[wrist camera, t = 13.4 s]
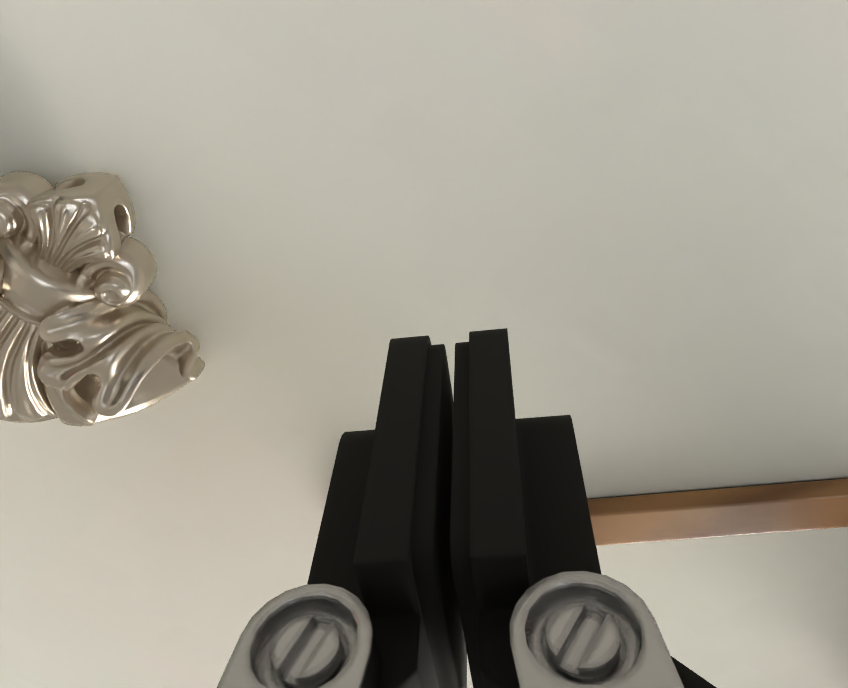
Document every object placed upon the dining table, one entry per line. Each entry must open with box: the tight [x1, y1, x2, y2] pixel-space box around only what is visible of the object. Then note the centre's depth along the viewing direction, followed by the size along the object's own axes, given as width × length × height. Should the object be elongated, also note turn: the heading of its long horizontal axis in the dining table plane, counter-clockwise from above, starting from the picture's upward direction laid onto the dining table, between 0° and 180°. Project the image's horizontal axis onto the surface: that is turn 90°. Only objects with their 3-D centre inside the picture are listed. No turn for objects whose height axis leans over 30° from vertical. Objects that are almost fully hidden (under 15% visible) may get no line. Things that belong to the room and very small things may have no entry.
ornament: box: [0, 171, 205, 426], centre depth 16 cm, size 8×7×4 cm
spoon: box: [587, 478, 848, 546], centre depth 21 cm, size 17×4×1 cm, turn 98°
